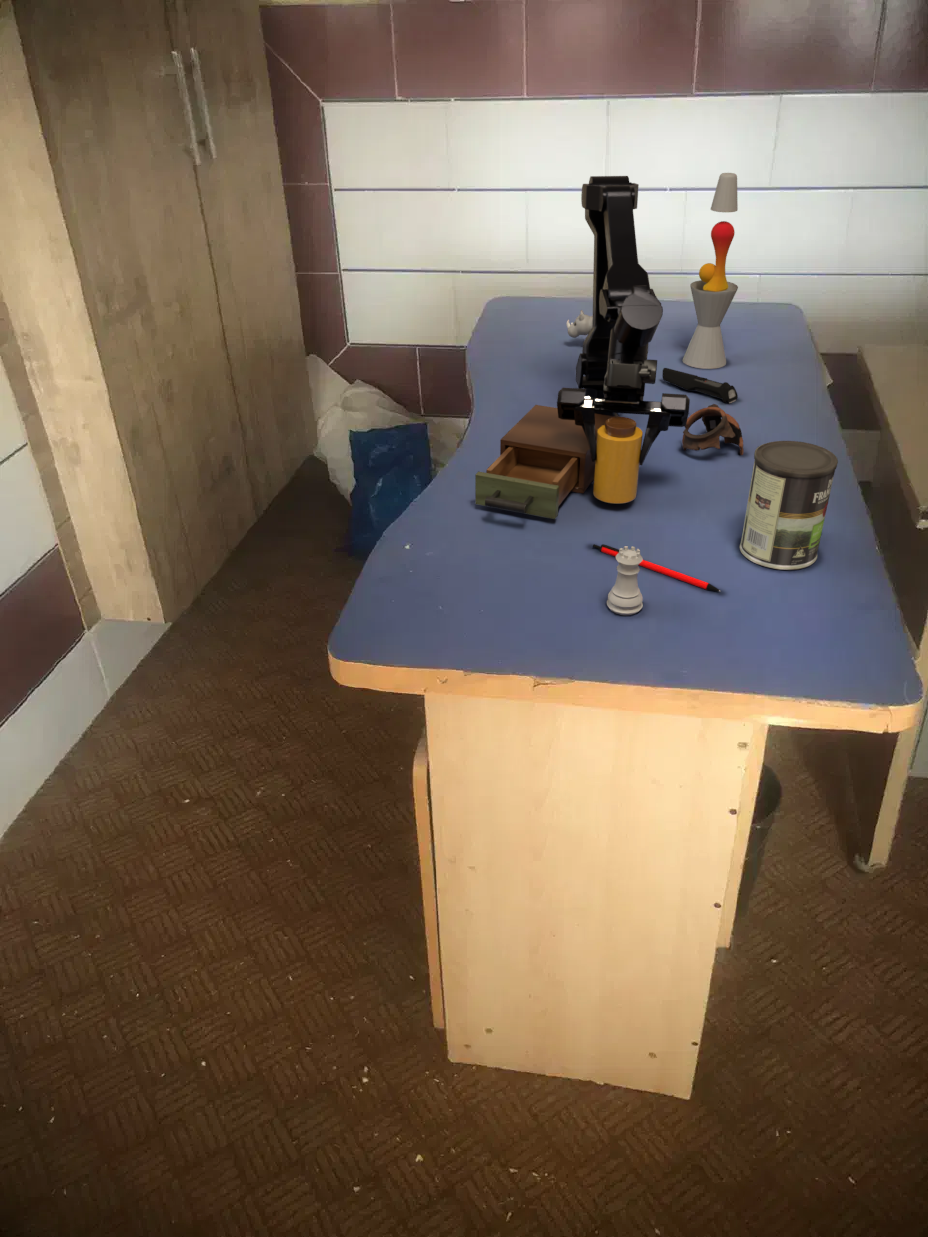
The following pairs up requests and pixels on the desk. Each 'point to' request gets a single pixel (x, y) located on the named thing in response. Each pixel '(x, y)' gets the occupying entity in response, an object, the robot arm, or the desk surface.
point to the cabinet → (555, 439)
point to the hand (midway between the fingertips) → (617, 462)
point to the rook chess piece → (626, 583)
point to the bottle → (617, 460)
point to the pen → (661, 569)
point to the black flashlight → (700, 385)
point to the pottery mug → (712, 430)
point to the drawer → (527, 481)
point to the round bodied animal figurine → (580, 325)
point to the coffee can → (787, 504)
